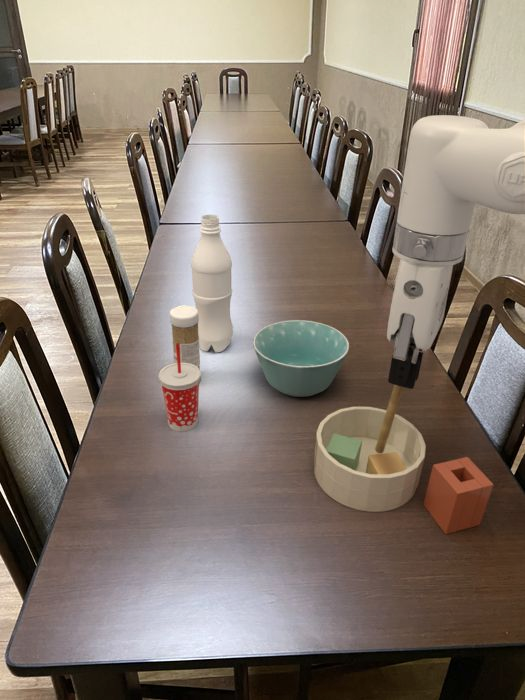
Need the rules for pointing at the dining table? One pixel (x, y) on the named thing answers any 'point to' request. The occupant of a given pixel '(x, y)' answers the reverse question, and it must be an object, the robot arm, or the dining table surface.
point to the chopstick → (389, 417)
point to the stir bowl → (359, 485)
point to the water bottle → (212, 287)
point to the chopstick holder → (457, 494)
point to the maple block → (385, 463)
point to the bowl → (300, 356)
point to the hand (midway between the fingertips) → (402, 380)
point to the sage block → (345, 450)
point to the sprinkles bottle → (186, 334)
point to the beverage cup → (181, 393)
